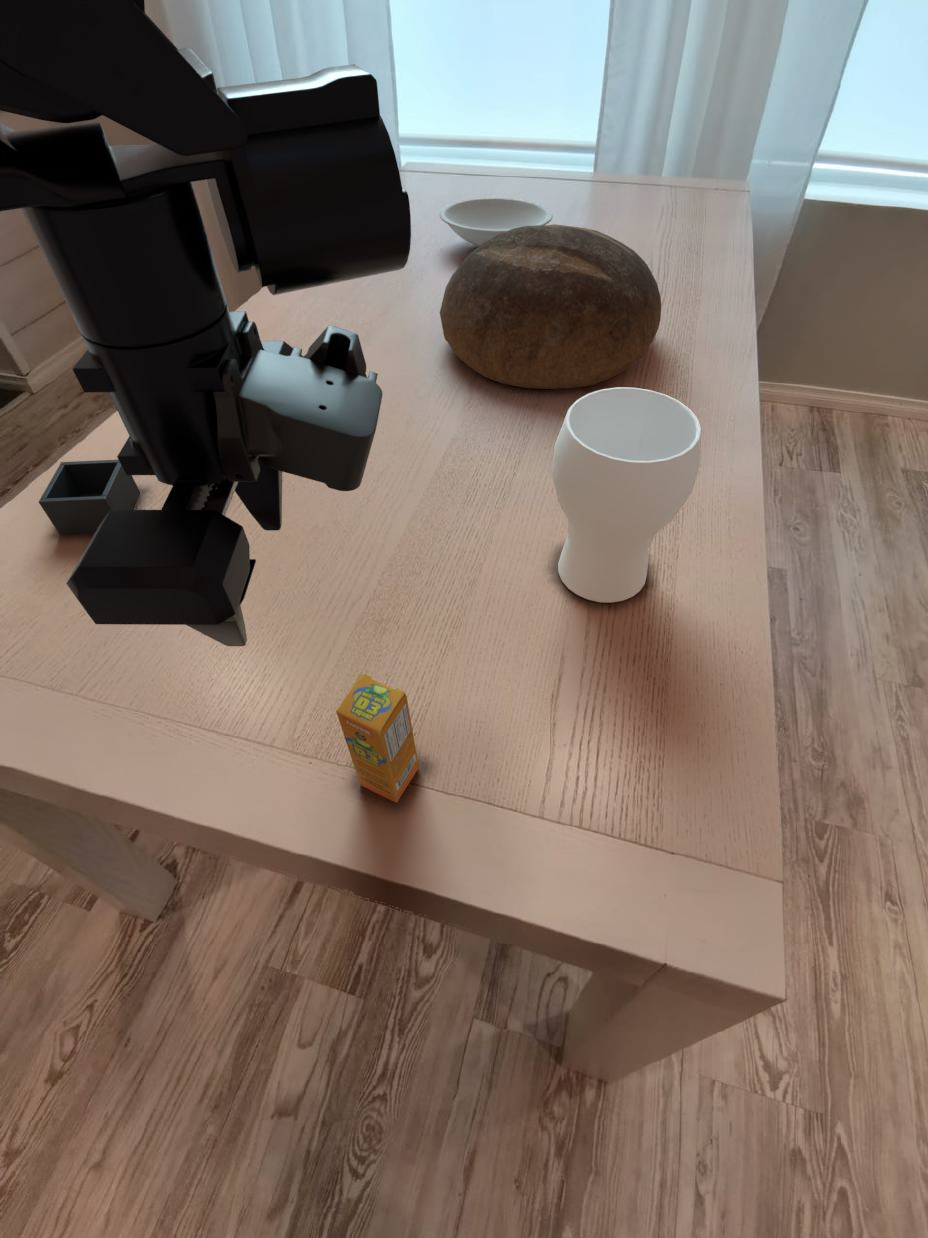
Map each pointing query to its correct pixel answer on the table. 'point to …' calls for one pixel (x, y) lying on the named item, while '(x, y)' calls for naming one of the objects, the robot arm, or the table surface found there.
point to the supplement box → (379, 736)
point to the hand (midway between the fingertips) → (256, 581)
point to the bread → (551, 307)
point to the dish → (492, 217)
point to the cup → (621, 485)
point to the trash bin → (87, 495)
